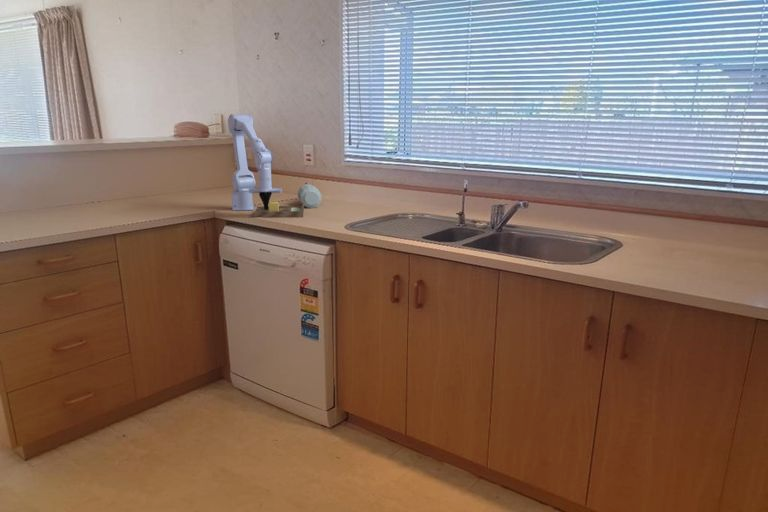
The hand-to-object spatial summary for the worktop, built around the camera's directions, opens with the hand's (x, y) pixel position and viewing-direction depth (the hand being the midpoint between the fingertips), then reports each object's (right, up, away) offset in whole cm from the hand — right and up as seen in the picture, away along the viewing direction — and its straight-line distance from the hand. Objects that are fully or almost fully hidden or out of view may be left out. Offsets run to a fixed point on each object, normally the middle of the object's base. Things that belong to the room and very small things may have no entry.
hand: (266, 209), depth 243 cm
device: (+14, +6, +33) cm, 37 cm away
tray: (+5, -2, +4) cm, 7 cm away
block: (+3, -1, +1) cm, 4 cm away
